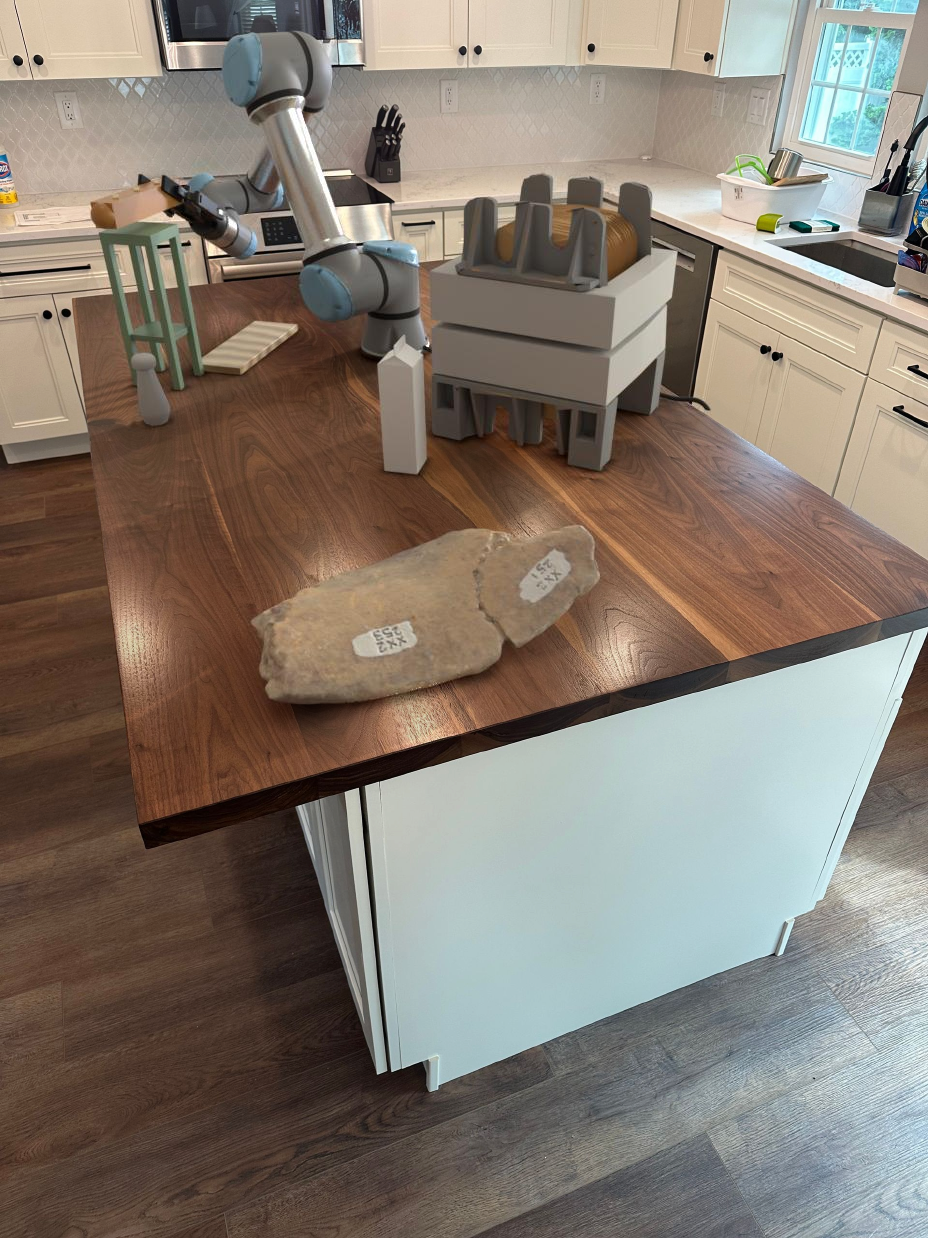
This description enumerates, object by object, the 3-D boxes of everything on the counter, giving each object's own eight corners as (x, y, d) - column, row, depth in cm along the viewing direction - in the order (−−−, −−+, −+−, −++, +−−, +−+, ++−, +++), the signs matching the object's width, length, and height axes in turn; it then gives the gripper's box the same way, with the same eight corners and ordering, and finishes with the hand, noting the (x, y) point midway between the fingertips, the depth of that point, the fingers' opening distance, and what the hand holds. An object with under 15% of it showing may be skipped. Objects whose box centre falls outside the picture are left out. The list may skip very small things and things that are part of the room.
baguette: (110, 231, 161) (103, 203, 159) (88, 230, 162) (82, 202, 160) (188, 200, 183) (184, 175, 180) (169, 199, 184) (164, 174, 181)
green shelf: (180, 390, 185) (150, 235, 167) (133, 385, 187) (98, 232, 170) (204, 373, 193) (177, 223, 175) (158, 368, 195) (127, 220, 177)
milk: (384, 471, 154) (374, 344, 142) (394, 456, 159) (386, 332, 146) (418, 474, 153) (411, 347, 140) (427, 459, 158) (422, 334, 145)
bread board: (240, 374, 192) (239, 368, 191) (194, 370, 194) (193, 363, 193) (298, 330, 215) (297, 324, 214) (256, 326, 217) (255, 320, 217)
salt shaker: (178, 418, 173) (165, 352, 166) (159, 429, 169) (144, 362, 161) (155, 413, 175) (140, 347, 168) (134, 424, 171) (119, 357, 163)
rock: (229, 622, 121) (286, 753, 102) (211, 558, 114) (269, 685, 96) (524, 530, 135) (621, 630, 116) (523, 468, 128) (627, 563, 109)
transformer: (661, 406, 177) (690, 178, 153) (600, 473, 153) (624, 217, 129) (506, 376, 190) (511, 163, 166) (428, 434, 166) (421, 196, 142)
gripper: (178, 203, 198) (113, 159, 176) (250, 206, 194) (193, 162, 172) (175, 238, 199) (110, 199, 176) (246, 242, 195) (190, 203, 173)
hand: (151, 181), depth 174 cm, fingers closed on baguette, 4 cm apart
